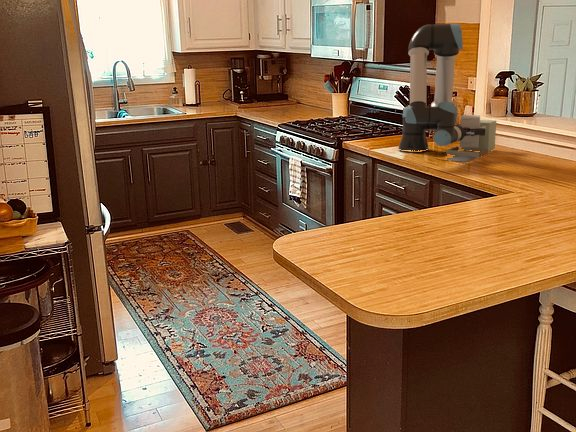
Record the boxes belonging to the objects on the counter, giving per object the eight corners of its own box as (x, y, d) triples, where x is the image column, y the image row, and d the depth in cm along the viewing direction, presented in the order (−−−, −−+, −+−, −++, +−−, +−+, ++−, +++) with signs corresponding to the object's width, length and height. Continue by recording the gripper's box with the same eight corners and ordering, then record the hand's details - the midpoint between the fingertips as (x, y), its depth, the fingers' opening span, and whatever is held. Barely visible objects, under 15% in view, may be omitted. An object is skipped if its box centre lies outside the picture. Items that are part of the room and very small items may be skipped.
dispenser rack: (478, 158, 300) (479, 127, 296) (446, 155, 310) (447, 124, 306) (496, 150, 318) (498, 120, 314) (466, 147, 328) (467, 119, 324)
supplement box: (459, 147, 307) (460, 116, 303) (459, 144, 316) (461, 114, 311) (478, 148, 305) (480, 117, 301) (478, 144, 313) (480, 114, 309)
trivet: (436, 159, 300) (436, 158, 300) (449, 154, 310) (449, 154, 310) (464, 162, 291) (464, 161, 291) (476, 157, 302) (476, 156, 302)
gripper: (431, 139, 303) (450, 133, 319) (478, 143, 288) (495, 137, 305) (431, 124, 300) (450, 119, 317) (479, 127, 286) (496, 121, 302)
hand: (473, 128), depth 311 cm, fingers closed on supplement box, 11 cm apart
